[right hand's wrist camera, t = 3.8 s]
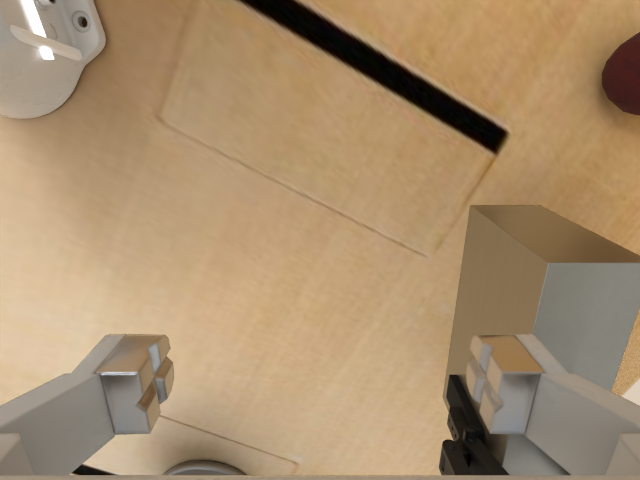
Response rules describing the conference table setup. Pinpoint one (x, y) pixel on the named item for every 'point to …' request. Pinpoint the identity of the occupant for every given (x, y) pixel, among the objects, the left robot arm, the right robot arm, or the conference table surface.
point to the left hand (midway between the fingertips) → (487, 386)
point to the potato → (624, 76)
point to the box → (542, 304)
